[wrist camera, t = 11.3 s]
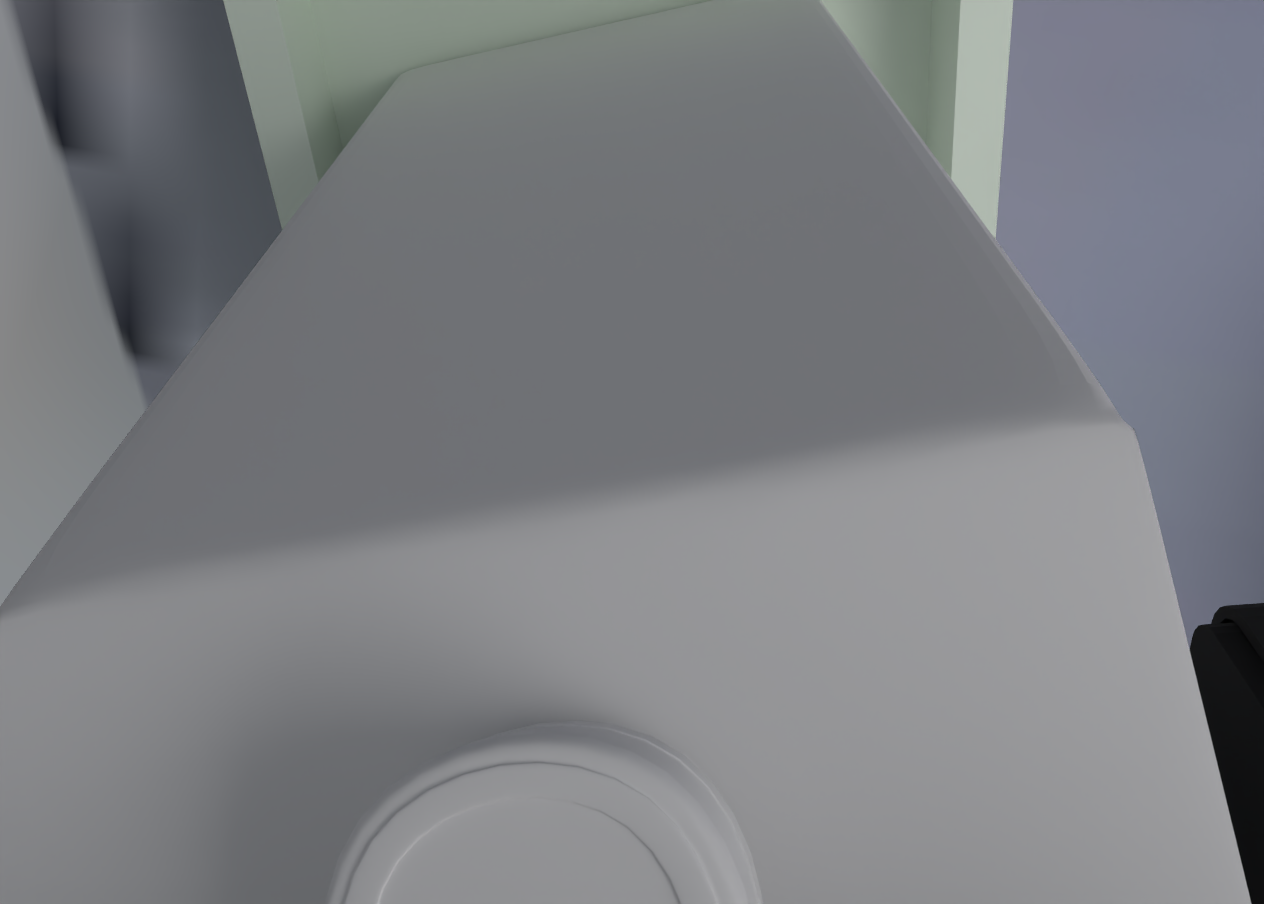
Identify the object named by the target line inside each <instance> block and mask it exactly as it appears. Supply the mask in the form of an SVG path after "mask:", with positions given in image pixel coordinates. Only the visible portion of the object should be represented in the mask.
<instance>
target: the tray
mask: <svg viewBox="0 0 1264 904" xmlns="http://www.w3.org/2000/svg"><path fill="white" fill-rule="evenodd" d="M223 1H224V5H225V9H226V13H227V17H228V21H229V25H230V29H231V32H232V36H233V40H234V44H235V48H236V52H237V56H238V60H239V64H240V68H241V71H242V75H243V79H244V83H245V87H246V91H247V95H248V99H249V103H250V107H251V111H252V114H253V118H254V122H255V126H256V130H257V134H258V138H259V142H260V146H261V150H262V153H263V157H264V161H265V165H266V169H267V173H268V177H269V181H270V185H271V189H272V193H273V196H274V200H275V204H276V208H277V212H278V216H279V220H280V224H281V228H282V230H283V228H284V227H285V226H286V225H287V223H288V222H289V221H290V219H291V218H292V217H293V215H294V214H295V213H296V211H297V210H298V209H299V207H300V206H301V205H302V203H303V202H304V201H305V199H306V198H307V197H308V195H309V194H310V193H311V191H312V190H313V189H314V188H315V186H316V185H317V184H318V182H319V181H320V180H321V178H322V177H323V176H324V174H325V173H326V172H327V170H328V169H329V168H330V166H331V165H332V164H333V162H334V161H335V160H336V158H337V157H338V156H339V154H340V153H341V152H342V151H343V149H344V148H345V147H346V145H347V144H348V143H349V141H350V140H351V139H352V137H353V136H354V135H355V133H356V132H357V131H358V129H359V128H360V127H361V125H362V124H363V123H364V121H365V120H366V119H367V117H368V116H369V115H370V114H371V112H372V111H373V110H374V108H375V107H376V106H377V104H378V103H379V102H380V100H381V99H382V98H383V96H384V95H385V94H386V92H387V91H388V90H389V88H390V87H391V86H392V84H393V83H394V82H395V80H396V79H397V78H398V77H399V76H400V75H401V74H403V73H405V72H407V71H409V70H412V69H415V68H419V67H422V66H426V65H430V64H434V63H439V62H443V61H447V60H452V59H456V58H460V57H465V56H469V55H473V54H478V53H482V52H487V51H491V50H495V49H500V48H504V47H509V46H513V45H517V44H522V43H526V42H531V41H535V40H539V39H544V38H548V37H553V36H557V35H561V34H566V33H570V32H575V31H579V30H583V29H588V28H592V27H597V26H601V25H605V24H610V23H614V22H619V21H623V20H627V19H632V18H636V17H641V16H645V15H649V14H654V13H658V12H663V11H667V10H671V9H676V8H680V7H685V6H689V5H693V4H698V3H702V2H707V1H711V0H223ZM821 2H822V3H823V4H824V6H825V7H826V8H827V10H828V11H829V13H830V14H831V15H832V17H833V18H834V19H835V21H836V22H837V23H838V25H839V26H840V28H841V29H842V30H843V32H844V33H845V34H846V36H847V37H848V39H849V40H850V41H851V43H852V44H853V45H854V47H855V48H856V49H857V51H858V52H859V54H860V55H861V56H862V58H863V59H864V60H865V62H866V63H867V65H868V66H869V67H870V69H871V70H872V71H873V73H874V74H875V75H876V77H877V78H878V80H879V81H880V82H881V84H882V85H883V86H884V88H885V89H886V90H887V92H888V93H889V95H890V96H891V97H892V99H893V100H894V101H895V103H896V104H897V106H898V107H899V108H900V110H901V111H902V112H903V114H904V115H905V116H906V118H907V119H908V121H909V122H910V123H911V125H912V126H913V127H914V129H915V130H916V132H917V133H918V134H919V136H920V137H921V138H922V140H923V141H924V142H925V144H926V145H927V147H928V148H929V149H930V151H931V152H932V153H933V155H934V156H935V157H936V159H937V160H938V162H939V163H940V164H941V166H942V167H943V168H944V170H945V171H946V173H947V174H948V175H949V177H950V178H951V179H952V181H953V182H954V183H955V185H956V186H957V188H958V189H959V190H960V192H961V193H962V194H963V196H964V197H965V199H966V200H967V201H968V203H969V204H970V205H971V207H972V208H973V209H974V211H975V212H976V214H977V215H978V216H979V218H980V219H981V220H982V222H983V223H984V224H985V226H986V227H987V229H988V230H989V231H990V233H991V234H992V235H993V237H994V238H996V224H997V211H998V197H999V184H1000V170H1001V157H1002V144H1003V130H1004V117H1005V103H1006V90H1007V76H1008V63H1009V50H1010V36H1011V23H1012V9H1013V0H821Z"/></svg>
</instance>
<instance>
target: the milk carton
mask: <svg viewBox="0 0 1264 904" xmlns="http://www.w3.org/2000/svg"><path fill="white" fill-rule="evenodd" d="M0 904H1251V900H1250V896H1249V892H1248V887H1247V883H1246V879H1245V875H1244V871H1243V867H1242V863H1241V859H1240V855H1239V851H1238V847H1237V842H1236V838H1235V834H1234V830H1233V826H1232V822H1231V818H1230V814H1229V810H1228V806H1227V801H1226V797H1225V793H1224V789H1223V785H1222V781H1221V777H1220V773H1219V769H1218V765H1217V760H1216V756H1215V752H1214V748H1213V744H1212V740H1211V736H1210V732H1209V728H1208V724H1207V719H1206V715H1205V711H1204V707H1203V703H1202V699H1201V695H1200V691H1199V687H1198V683H1197V679H1196V674H1195V670H1194V666H1193V662H1192V658H1191V654H1190V650H1189V646H1188V642H1187V638H1186V633H1185V629H1184V625H1183V621H1182V617H1181V613H1180V609H1179V605H1178V601H1177V597H1176V592H1175V588H1174V584H1173V580H1172V576H1171V572H1170V568H1169V564H1168V560H1167V555H1166V551H1165V547H1164V543H1163V539H1162V535H1161V531H1160V527H1159V523H1158V519H1157V515H1156V511H1155V507H1154V502H1153V498H1152V495H1151V491H1150V487H1149V483H1148V479H1147V475H1146V471H1145V467H1144V463H1143V459H1142V455H1141V451H1140V448H1139V444H1138V440H1137V437H1136V434H1135V431H1134V428H1133V429H1132V427H1131V426H1129V425H1128V424H1127V423H1125V422H1124V421H1123V420H1122V418H1121V417H1120V415H1119V414H1118V412H1117V411H1116V409H1115V407H1114V406H1113V404H1112V403H1111V401H1110V399H1109V398H1108V396H1107V395H1106V393H1105V391H1104V390H1103V388H1102V387H1101V385H1100V384H1099V382H1098V381H1097V379H1096V378H1095V377H1094V375H1093V374H1092V372H1091V371H1090V369H1089V368H1088V366H1087V365H1086V363H1085V362H1084V361H1083V359H1082V358H1081V356H1080V355H1079V354H1078V352H1077V351H1076V349H1075V348H1074V347H1073V345H1072V344H1071V342H1070V341H1069V340H1068V338H1067V337H1066V335H1065V334H1064V333H1063V331H1062V330H1061V329H1060V327H1059V326H1058V324H1057V323H1056V322H1055V320H1054V319H1053V318H1052V316H1051V315H1050V313H1049V312H1048V311H1047V309H1046V308H1045V307H1044V305H1043V304H1042V302H1041V301H1040V300H1039V298H1038V297H1037V296H1036V294H1035V293H1034V291H1033V290H1032V289H1031V287H1030V286H1029V285H1028V283H1027V282H1026V281H1025V279H1024V278H1023V276H1022V275H1021V274H1020V272H1019V271H1018V270H1017V268H1016V267H1015V266H1014V264H1013V263H1012V261H1011V260H1010V259H1009V257H1008V256H1007V255H1006V253H1005V252H1004V250H1003V249H1002V248H1001V246H1000V245H999V244H998V242H997V241H996V240H995V238H994V237H993V235H992V234H991V233H990V231H989V230H988V229H987V227H986V226H985V224H984V223H983V222H982V220H981V219H980V218H979V216H978V215H977V214H976V212H975V211H974V209H973V208H972V207H971V205H970V204H969V203H968V201H967V200H966V199H965V197H964V196H963V194H962V193H961V192H960V190H959V189H958V188H957V186H956V185H955V183H954V182H953V181H952V179H951V178H950V177H949V175H948V174H947V173H946V171H945V170H944V168H943V167H942V166H941V164H940V163H939V162H938V160H937V159H936V157H935V156H934V155H933V153H932V152H931V151H930V149H929V148H928V147H927V145H926V144H925V142H924V141H923V140H922V138H921V137H920V136H919V134H918V133H917V132H916V130H915V129H914V127H913V126H912V125H911V123H910V122H909V121H908V119H907V118H906V116H905V115H904V114H903V112H902V111H901V110H900V108H899V107H898V106H897V104H896V103H895V101H894V100H893V99H892V97H891V96H890V95H889V93H888V92H887V90H886V89H885V88H884V86H883V85H882V84H881V82H880V81H879V80H878V78H877V77H876V75H875V74H874V73H873V71H872V70H871V69H870V67H869V66H868V65H867V63H866V62H865V60H864V59H863V58H862V56H861V55H860V54H859V52H858V51H857V49H856V48H855V47H854V45H853V44H852V43H851V41H850V40H849V39H848V37H847V36H846V34H845V33H844V32H843V30H842V29H841V28H840V26H839V25H838V23H837V22H836V21H835V19H834V18H833V17H832V15H831V14H830V13H829V11H828V10H827V8H826V7H825V6H824V4H823V3H822V2H821V0H711V1H707V2H702V3H698V4H693V5H689V6H685V7H680V8H676V9H671V10H667V11H663V12H658V13H654V14H649V15H645V16H641V17H636V18H632V19H627V20H623V21H619V22H614V23H610V24H605V25H601V26H597V27H592V28H588V29H583V30H579V31H575V32H570V33H566V34H561V35H557V36H553V37H548V38H544V39H539V40H535V41H531V42H526V43H522V44H517V45H513V46H509V47H504V48H500V49H495V50H491V51H487V52H482V53H478V54H473V55H469V56H465V57H460V58H456V59H452V60H447V61H443V62H439V63H434V64H430V65H426V66H422V67H419V68H415V69H412V70H409V71H407V72H405V73H403V74H401V75H400V76H399V77H398V78H397V79H396V80H395V82H394V83H393V84H392V86H391V87H390V88H389V90H388V91H387V92H386V94H385V95H384V96H383V98H382V99H381V100H380V102H379V103H378V104H377V106H376V107H375V108H374V110H373V111H372V112H371V114H370V115H369V116H368V117H367V119H366V120H365V121H364V123H363V124H362V125H361V127H360V128H359V129H358V131H357V132H356V133H355V135H354V136H353V137H352V139H351V140H350V141H349V143H348V144H347V145H346V147H345V148H344V149H343V151H342V152H341V153H340V154H339V156H338V157H337V158H336V160H335V161H334V162H333V164H332V165H331V166H330V168H329V169H328V170H327V172H326V173H325V174H324V176H323V177H322V178H321V180H320V181H319V182H318V184H317V185H316V186H315V188H314V189H313V190H312V191H311V193H310V194H309V195H308V197H307V198H306V199H305V201H304V202H303V203H302V205H301V206H300V207H299V209H298V210H297V211H296V213H295V214H294V215H293V217H292V218H291V219H290V221H289V222H288V223H287V225H286V226H285V227H284V228H283V230H282V231H281V232H280V234H279V235H278V236H277V238H276V239H275V240H274V242H273V243H272V244H271V246H270V247H269V248H268V250H267V251H266V252H265V254H264V255H263V256H262V258H261V259H260V260H259V262H258V263H257V264H256V265H255V267H254V268H253V269H252V271H251V272H250V273H249V275H248V276H247V277H246V279H245V280H244V281H243V283H242V284H241V285H240V287H239V288H238V289H237V291H236V292H235V293H234V295H233V296H232V297H231V299H230V300H229V301H228V302H227V304H226V305H225V306H224V308H223V309H222V310H221V312H220V313H219V314H218V316H217V317H216V318H215V320H214V321H213V322H212V324H211V325H210V326H209V328H208V329H207V330H206V332H205V333H204V334H203V336H202V337H201V338H200V339H199V341H198V342H197V343H196V345H195V346H194V347H193V349H192V350H191V351H190V353H189V354H188V355H187V357H186V358H185V359H184V361H183V362H182V363H181V365H180V366H179V367H178V369H177V370H176V371H175V373H174V374H173V375H172V376H171V378H170V379H169V380H168V382H167V383H166V384H165V386H164V387H163V388H162V390H161V391H160V392H159V394H158V395H157V396H156V398H155V399H154V400H153V402H152V403H151V404H150V406H149V407H148V408H147V410H146V411H145V412H144V413H143V415H142V416H141V417H140V419H139V420H138V421H137V423H136V424H135V425H134V427H133V428H132V429H131V431H130V432H129V433H128V435H127V436H126V437H125V439H124V440H123V441H122V443H121V444H120V445H119V447H118V448H117V449H116V450H115V452H114V453H113V454H112V456H111V457H110V458H109V460H108V461H107V463H106V464H105V465H104V466H103V468H102V469H101V470H100V472H99V473H98V474H97V476H96V477H95V478H94V480H93V481H92V483H91V484H90V485H89V486H88V488H87V489H86V490H85V492H84V493H83V494H82V496H81V497H80V498H79V500H78V501H77V502H76V504H75V505H74V506H73V508H72V509H71V510H70V512H69V513H68V514H67V516H66V517H65V518H64V520H63V521H62V522H61V524H60V525H59V527H58V528H57V529H56V531H55V532H54V533H53V535H52V536H51V538H50V539H49V540H48V542H47V543H46V544H45V546H44V547H43V548H42V550H41V551H40V552H39V554H38V555H37V556H36V558H35V559H34V561H33V562H32V563H31V565H30V566H29V568H28V569H27V570H26V571H25V573H24V574H23V575H22V577H21V578H20V580H19V581H18V582H17V584H16V585H15V586H14V588H13V589H12V591H11V592H10V594H9V595H8V596H7V598H6V599H5V601H4V602H3V604H2V605H1V607H0Z"/></svg>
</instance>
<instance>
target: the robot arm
mask: <svg viewBox="0 0 1264 904" xmlns="http://www.w3.org/2000/svg"><path fill="white" fill-rule="evenodd" d="M1190 654H1191V658H1192V662H1193V666H1194V670H1195V674H1196V679H1197V683H1198V687H1199V691H1200V695H1201V699H1202V703H1203V707H1204V711H1205V715H1206V719H1207V724H1208V728H1209V732H1210V736H1211V740H1212V744H1213V748H1214V752H1215V756H1216V760H1217V765H1218V769H1219V773H1220V777H1221V781H1222V785H1223V789H1224V793H1225V797H1226V801H1227V806H1228V810H1229V814H1230V818H1231V822H1232V826H1233V830H1234V834H1235V838H1236V842H1237V847H1238V851H1239V855H1240V859H1241V863H1242V867H1243V871H1244V875H1245V879H1246V883H1247V887H1248V892H1249V896H1250V900H1251V904H1264V603H1258V604H1244V605H1230V606H1224V607H1220V608H1219V609H1218V610H1217V612H1216V613H1215V614H1214V617H1213V620H1212V623H1211V624H1206V625H1200V626H1198V627H1197V628H1196V629H1195V631H1194V634H1193V637H1192V641H1191V646H1190Z"/></svg>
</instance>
